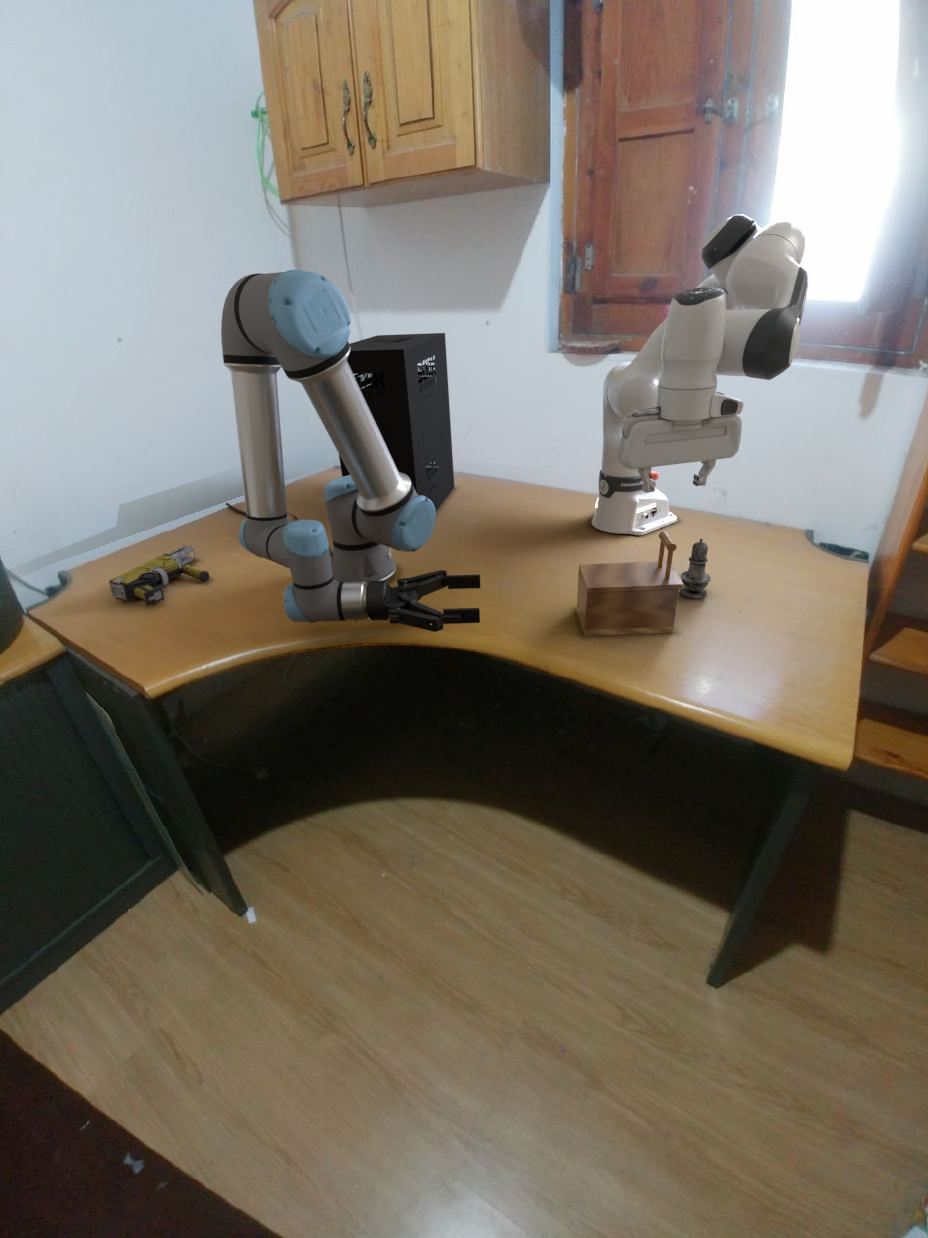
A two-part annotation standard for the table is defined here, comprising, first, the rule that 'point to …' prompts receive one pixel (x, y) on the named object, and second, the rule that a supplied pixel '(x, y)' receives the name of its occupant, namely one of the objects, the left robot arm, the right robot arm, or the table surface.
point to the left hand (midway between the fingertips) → (480, 597)
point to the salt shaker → (696, 572)
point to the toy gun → (155, 576)
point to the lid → (633, 573)
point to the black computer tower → (409, 406)
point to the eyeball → (291, 517)
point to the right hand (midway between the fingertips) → (673, 488)
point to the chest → (626, 611)
